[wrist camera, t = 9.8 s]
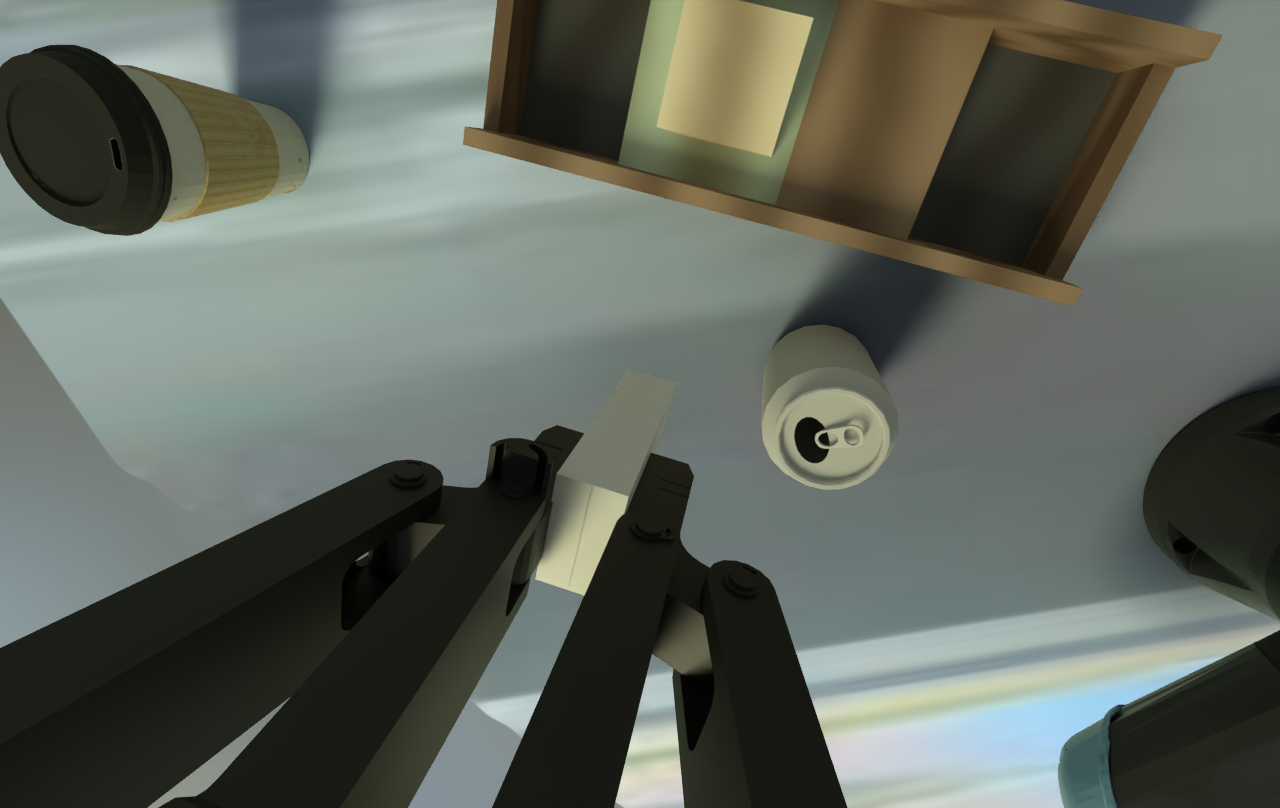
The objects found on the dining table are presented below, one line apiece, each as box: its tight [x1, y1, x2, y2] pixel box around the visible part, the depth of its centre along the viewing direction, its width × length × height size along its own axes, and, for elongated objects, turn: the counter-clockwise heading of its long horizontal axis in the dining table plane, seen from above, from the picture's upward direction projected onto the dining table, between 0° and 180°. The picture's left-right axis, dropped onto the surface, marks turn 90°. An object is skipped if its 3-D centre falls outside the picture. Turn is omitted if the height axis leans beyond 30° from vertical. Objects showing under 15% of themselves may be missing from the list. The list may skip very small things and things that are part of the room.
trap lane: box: [463, 0, 1222, 306], centre depth 34 cm, size 36×13×6 cm, turn 77°
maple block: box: [656, 0, 814, 157], centre depth 31 cm, size 6×6×6 cm
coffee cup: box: [0, 45, 309, 236], centre depth 38 cm, size 10×10×15 cm
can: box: [762, 324, 898, 490], centre depth 38 cm, size 8×8×12 cm
